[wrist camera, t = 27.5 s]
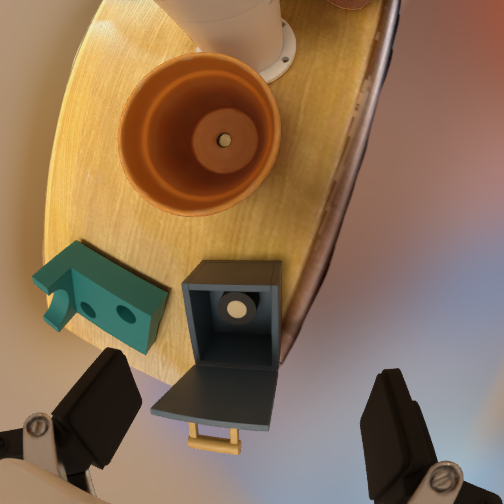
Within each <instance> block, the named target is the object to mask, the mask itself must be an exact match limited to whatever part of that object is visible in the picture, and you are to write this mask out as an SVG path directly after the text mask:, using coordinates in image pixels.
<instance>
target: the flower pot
mask: <svg viewBox="0 0 504 504" xmlns="http://www.w3.org/2000/svg"><path fill="white" fill-rule="evenodd" d="M223 133H226V134H229V135H230V137H231V143H230V145H229V146H227V147H221V146H219V144H218V142H217V139H218V137H219V136H220V135H221V134H223ZM280 143H281V120H280V114H279V109H278V106H277V102H276V100H275V97H274V95H273V93H272V91H271V89H270V87H269V86H268V84H267V83H266V81H265V80H264V79H263V78H262V77H261V75H260V74H259V73H257V72H256V71H255V70H254V69H253V68H251V67H250V66H249V65H247V64H246V63H244V62H242V61H240V60H238V59H236V58H234V57H231V56H228V55H225V54H220V53H214V52H197V53H190V54H185V55H182V56H179V57H176V58H173V59H171V60H169V61H167V62H165V63H163V64H161V65H159V66H158V67H156V68H155V69H154V70H152V71H151V72H150V73H149V74H147V75H146V76H145V77H144V78H143V79H142V80H141V81H140V83H139V84H138V85H137V86H136V88H135V89H134V90H133V92H132V93H131V95H130V97H129V98H128V100H127V102H126V105H125V107H124V109H123V112H122V115H121V119H120V123H119V129H118V152H119V157H120V161H121V165H122V167H123V170H124V172H125V175H126V177H127V179H128V180H129V182H130V184H131V185H132V186H133V188H134V189H135V190H136V191H137V193H138V194H139V195H140V196H141V197H142V198H144V199H145V200H146V201H147V202H149V203H150V204H151V205H153V206H155V207H156V208H158V209H160V210H162V211H165V212H168V213H170V214H174V215H178V216H186V217H199V216H207V215H212V214H216V213H219V212H222V211H225V210H227V209H229V208H231V207H233V206H235V205H237V204H238V203H240V202H241V201H243V200H244V199H245V198H247V197H248V196H249V195H250V194H251V193H253V192H254V191H255V190H256V189H257V188H258V187H259V186H260V185H261V183H262V182H263V181H264V180H265V178H266V177H267V176H268V174H269V172H270V171H271V169H272V167H273V165H274V163H275V161H276V158H277V155H278V152H279V148H280Z"/></svg>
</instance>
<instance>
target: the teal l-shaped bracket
mask: <svg viewBox="0 0 504 504" xmlns="http://www.w3.org/2000/svg"><path fill="white" fill-rule="evenodd" d="M32 277H33V281H34V284H35V285H37V286H38V287H39V288H40V289H41V290H43V291H44V292H45V293H46V294H48V295H50V294H51V293H53V292H54V295H53V299H52V302H51V305H50V307H49V309H48V310H47V312H46V313H45V315H43V317H44V321H46V323H48V324H49V325H50V326H51V327H53V328H54V329H55V330H56V331H58V332H60V331H61V329H62V328H63V327H64V326H65V325H66V324H67V323H68V322H69V320H70V319H71V318H72V317H73V316H74V315H75V314H76V313H77V312H78V313H79V314H80V315H82V316H83V317H85V318H86V319H88V320H89V321H91V322H92V323H94V324H95V325H97V326H98V327H100V328H101V329H103V330H104V331H106V332H107V333H109V334H111V335H112V336H114V337H115V338H117V339H119V340H120V341H122V342H124V343H125V344H127V345H129V346H130V347H132V348H134V349H135V350H137V351H139V352H141V353H142V354H144V355H146V354H147V353H148V351H149V349H150V348H151V346H152V345H153V343H154V341H155V340H156V335H157V329H158V324H159V321H160V319H161V318H162V316H163V314H164V309H165V305H166V300H167V296H168V293H167V292H165V291H163V290H161V289H160V288H158V287H156V286H154V285H152V284H150V283H148V282H147V281H145V280H143V279H141V278H139V277H138V276H136V275H134V274H132V273H130V272H129V271H127V270H125V269H123V268H122V267H120V266H118V265H116V264H115V263H113V262H111V261H110V260H108V259H106V258H104V257H103V256H101V255H99V254H98V253H96V252H94V251H93V250H91V249H90V248H88V247H86V246H85V245H83V244H81V243H80V242H78V241H77V240H76V241H74V242H73V243H72V244H70V245H69V246H68V247H67V248H65V249H64V250H63V251H62V252H60V253H59V254H58V255H57V256H55V257H54V258H53V259H52V260H51V261H49V262H48V263H47V264H46V265H45V266H43V267H42V268H41V269H40V270H39V271H38V272H37V273H35V274H34V275H33V276H32Z"/></svg>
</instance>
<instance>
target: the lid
mask: <svg viewBox="0 0 504 504" xmlns="http://www.w3.org/2000/svg"><path fill="white" fill-rule="evenodd" d="M277 378H278V371H276V370H253V369H237V368H225V367H214V366H204V365H194V366H193V367H192V368H191V369H190V370H189V371H188V372H187V373H186V374H185V375H184V376H183V377H182V378H181V379H180V380H179V381H178V382H177V383H176V384H175V385H174V386H173V387H172V388H171V389H170V390H169V391H168V392H167V393H166V394H165V395H164V396H163V397H162V398H161V399H159V400H158V402H156V403H155V404H154V405H153V406H152V407H151V414H153V415H157V416H161V417H166V418H170V419H175V420H180V421H186V422H188V424H189V432H190V435H189V438H188V446H189V447H191V448H196V449H201V450H207V451H214V452H220V453H228V454H236V455H239V454H240V451H241V440H239V429H242V430H254V431H269V427H270V421H271V415H272V409H273V403H274V397H275V391H276V385H277ZM198 424H203V425H209V426H217V427H224V428H230V439H226V438H218V437H211V436H205V435H199V434H198Z"/></svg>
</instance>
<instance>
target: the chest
mask: <svg viewBox="0 0 504 504" xmlns="http://www.w3.org/2000/svg"><path fill="white" fill-rule="evenodd" d="M182 290H183V297H184V303H185V309H186V315H187V321H188V327H189V333H190V338H191V343H192V349H193V354H194V359H195V364H196V365H204V366H214V367H225V368H237V369H253V370H278V369H279V359H280V348H281V337H282V261H205V260H202V261H201V263H200V264H199V265H198V266H197V267H196V268H195V269H194V270H193V271H192V272H191V273H190V275H189V276H188V277H187V278H186V279H185V280H184V281H183V282H182ZM224 291H237V292H259V296H260V300H259V304H258V308H257V312H256V315H255V317H254V319H253V320H252V321H251V322H250V323H248V324H246V325H241V326H238V325H232V324H230V323H228V322H226V321H225V320H224V319H223V318H222V317H221V315H220V313H219V310H218V303H219V300H220V298H221V297H222V295H223V293H224Z"/></svg>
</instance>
